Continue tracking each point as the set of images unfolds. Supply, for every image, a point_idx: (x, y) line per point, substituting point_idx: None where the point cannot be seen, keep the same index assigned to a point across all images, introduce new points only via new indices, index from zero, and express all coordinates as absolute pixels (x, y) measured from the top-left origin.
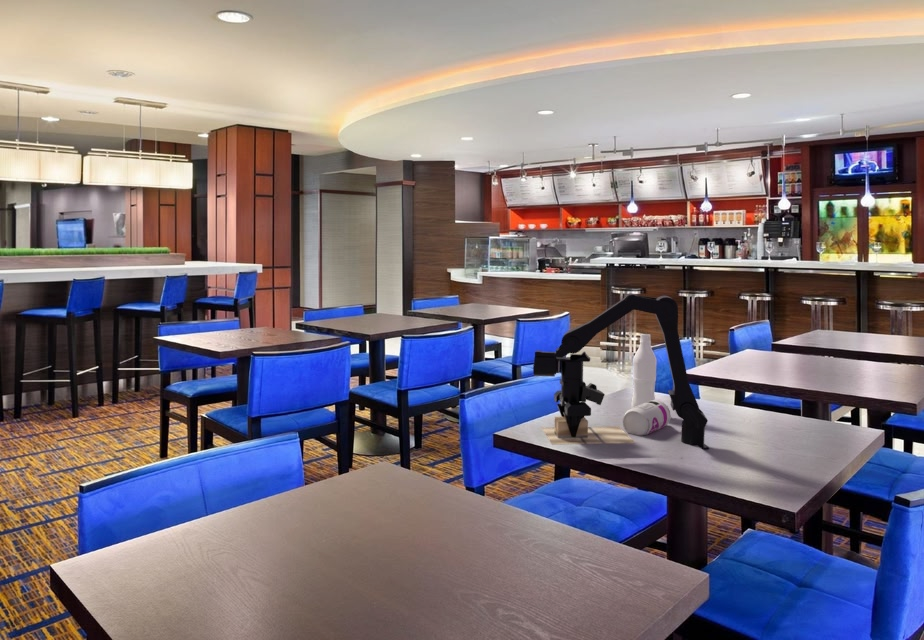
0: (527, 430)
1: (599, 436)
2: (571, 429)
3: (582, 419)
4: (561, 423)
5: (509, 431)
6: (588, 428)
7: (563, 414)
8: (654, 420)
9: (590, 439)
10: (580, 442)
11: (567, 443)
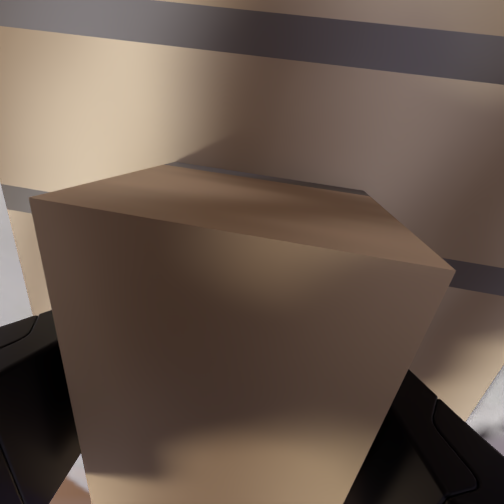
0: None
1: (371, 20)
2: None
3: (280, 319)
4: None
5: (77, 473)
6: (22, 37)
7: (43, 487)
8: None
9: (444, 189)
10: (490, 317)
11: (462, 407)
